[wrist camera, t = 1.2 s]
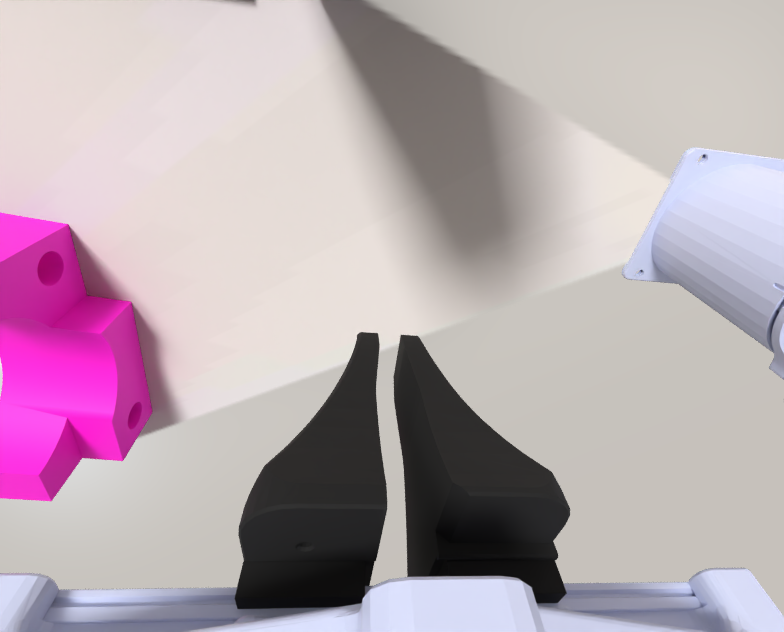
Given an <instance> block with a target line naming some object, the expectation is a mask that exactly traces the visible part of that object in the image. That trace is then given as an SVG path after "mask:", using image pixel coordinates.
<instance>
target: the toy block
mask: <svg viewBox="0 0 784 632" xmlns="http://www.w3.org/2000/svg"><path fill="white" fill-rule="evenodd" d="M0 358H1V363H2V371H3V385H2V392H1V397H0V498H7V499H23V500H41V501H52V500H53V498H54V497H55V496H56V494H57V493H58V491H59V490H60V489H61V487H62V486H63V484H64V483H65V482H66V480H67V478H68V477H69V476H70V474H71V473H72V472H73V470H74V469H75V467H76V466H77V465H78V463H79V462H80V460H81V459H82V458H90V459H104V460H117V461H123V460H124V458H125V457H126V455H127V453H128V452H129V450H130V449H131V447H132V445H133V444H134V442H135V440H136V439H137V437H138V435H139V434H140V432H141V430H142V429H143V427H144V425H145V424H146V422H147V420H148V419H149V417H150V415H151V414H152V407H151V402H150V397H149V392H148V386H147V381H146V376H145V371H144V365H143V360H142V355H141V350H140V345H139V339H138V334H137V329H136V324H135V318H134V313H133V308H132V303H131V302H129V301H122V300H115V299H108V298H101V297H94V296H87V293H86V289H85V285H84V282H83V278H82V274H81V270H80V267H79V263H78V259H77V255H76V252H75V248H74V244H73V240H72V236H71V233H70V229H69V225H68V224H63V223H57V222H52V221H46V220H40V219H34V218H28V217H22V216H16V215H10V214H5V213H0Z"/></svg>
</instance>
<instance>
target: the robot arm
mask: <svg viewBox="0 0 784 632" xmlns="http://www.w3.org/2000/svg"><path fill="white" fill-rule="evenodd" d="M701 155H703V156H702V159H701V160H700V161H699V162H697V161H698V159H699V157H700V156H701ZM669 180H671V181H670V183H669V185H668V187H667V189H666V191H665V193H664V195H663V197H662V199H661V200H660V202H659V204H658V206H657V208H656V210H655V212H654V214H653V216H652V218H651V220H650V221H649V223H648V225H647V227H646V229H645V231H644V233H643V235H642V237H641V239H640V240H639V242H638V244H637V246H636V248H635V250H634V252H633V254H632V256H631V258H630V260H629V261H628V263H626V264H625V266H624V267H623V269H622V275H623V276H624V277H625V278H626V279H631V280H642V281H653V282H664V283H676V284H679V285H681V286H682V287H684V288H685V289H686V290H688V291H689V292H690V293H692V294H693V295H695V296H696V297H697V298H699V299H700V300H701V301H703V302H704V303H705V304H707V305H708V306H710V307H711V308H713V309H714V310H715V311H717V312H718V313H719V314H721V315H722V316H723V317H725V318H726V319H728V320H729V321H730V322H732V323H733V324H734V325H736V326H737V327H739V328H740V329H741V330H743V331H744V332H746V333H747V334H748V335H750V336H751V337H752V338H754V339H755V340H756V341H758V342H759V343H761V344H762V345H763V346H765V347H766V348H768V349H769V350H770V351H772V352H773V353H774V359H773V361H772V363H771V364H770V366H769V369H771V370H772V371H773V372H774V373H776V374H777V375H779V376H780V377H781V378H782V379H784V159H779V158H771V157H764V156H757V155H749V154H741V153H734V152H727V151H720V150H712V149H705V148H698V147H692V148H689V149H687V151H685V152H684V153H683V155H682V156H681V158H680V160H679V162H678V164H677V166H676V168H675V170H674V172H673V173H672V175H671V177H670V179H669ZM639 270H640V271H639ZM637 271H639V272H638V273H637V274H636V272H637ZM378 356H379V338H378V333H364V332H360V333H359V334H358V335H357V341H356V345H355V348H354V351H353V353H352V356H351V358H350V360H349V363H348V365H347V367H346V369H345V371H344V373H343V375H342V376H341V378H340V380H339V382H338V383H337V385H336V387H335V389H334V390H333V392H332V393H331V395H330V396H329V397H328V399H327V400H326V402H325V403H324V405H323V406H322V407H321V408H320V410H319V411H318V412H317V414H316V415H315V416H314V417H313V419H312V420H311V421H310V422H309V423H308V424H307V426H306V427H305V428H304V429H303V430H302V431H301V432H300V433H299V434H298V435H297V436H296V437H295V438H294V439H293V440H292V441H291V442H290V443H289V444H288V446H286V447H285V448H284V449H283V450H282V451H281V452H280V453H278V454H277V455H276V456H275V457H274V458H273V459H272V460H271V461H269V462H268V463H267V464H266V465H265V466H264V468H263V469H262V471H261V473H260V475H259V477H258V478H257V480H256V482H255V484H254V486H253V488H252V490H251V492H250V494H249V497H248V499H247V502H246V504H245V507H244V511H243V514H242V518H241V522H240V525H239V539H240V544H241V548H242V553H243V558H244V562H243V566H242V570H241V574H240V578H239V582H238V587H236V588H160V589H159V588H158V589H157V588H155V589H80V590H79V589H77V590H76V589H72V590H59V589H58V586H57V584H56V583H55V581H54V580H53V579H51V578H50V577H48V576H45V575H41V574H34V573H0V632H784V616H783V615H782V614H781V612H780V611H779V609H778V608H777V607H776V605H775V604H774V603H773V601H772V600H771V599H770V597H769V596H768V595H767V593H766V592H765V591H764V589H763V588H762V587H761V585H760V584H759V583H758V581H757V580H756V578H755V577H754V576H753V574H752V573H751V572H750V570H748V569H746V568H710V569H705V570H702V571H700V572H698V573H696V574H695V575H694V576H692V577H691V578H690V579H689V582H658V583H657V582H653V583H652V582H649V583H570V584H569V583H565V584H563V581H562V579H561V576H560V573H559V571H558V568H557V565H556V563H555V560H556V559H557V558H558V553H557V550H556V548H555V545H554V542H553V540H554V539H555V538H556V536H557V535H558V534H559V532H560V531H561V530H562V528H563V527H564V525H565V524H566V522H567V520H568V518H569V516H570V508H569V505H568V503H567V501H566V499H565V497H564V494H563V492H562V490H561V488H560V486H559V484H558V483H557V481H556V479H555V477H554V475H553V473H552V472H551V471H549V470H548V469H546V468H545V467H543V466H542V465H540V464H539V463H537V462H536V461H534V460H533V459H531V458H530V457H528V456H527V455H525V454H524V453H522V452H521V451H520V450H518V449H517V448H516V447H514V446H513V445H512V444H510V443H509V442H508V441H506V440H505V439H504V438H503V437H501V436H500V435H499V434H498V433H497V432H495V431H494V430H493V429H492V428H491V427H490V426H489V425H487V424H486V423H485V422H484V421H483V420H482V419H481V418H480V417H479V416H478V415H477V414H476V413H475V412H474V411H473V410H472V409H471V408H470V407H469V406H468V405H467V404H466V403H465V402H464V401H463V400H462V399H461V397H460V396H459V395H458V394H457V392H456V391H455V390H454V389H453V387H452V386H451V385H450V384H449V382H448V381H447V380H446V378H445V377H444V375H443V374H442V373H441V371H440V370H439V368H438V367H437V365H436V364H435V363H434V361H433V359H432V358H431V356H430V355H429V353H428V351H427V350H426V348H425V347H424V345H423V343H422V342H421V340H420V338H419V337H418V336H410V335H401V337H400V343H399V350H398V355H397V361H396V367H395V373H394V402H395V409H396V416H397V423H398V430H399V436H400V443H401V449H402V456H403V465H404V480H405V502H406V528H407V567H408V568H407V571H408V577H404V578H396V579H389V580H386V581H384V582H381V583H379V584H376V585H374V586H369V585H370V580H371V575H372V570H373V566H374V561H376V558H377V553H378V549H379V544H380V539H381V535H382V530H383V525H384V521H385V516H386V511H387V490H386V480H385V474H384V468H383V461H382V453H381V446H380V437H379V427H378V415H377V402H376V379H377V367H378Z"/></svg>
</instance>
